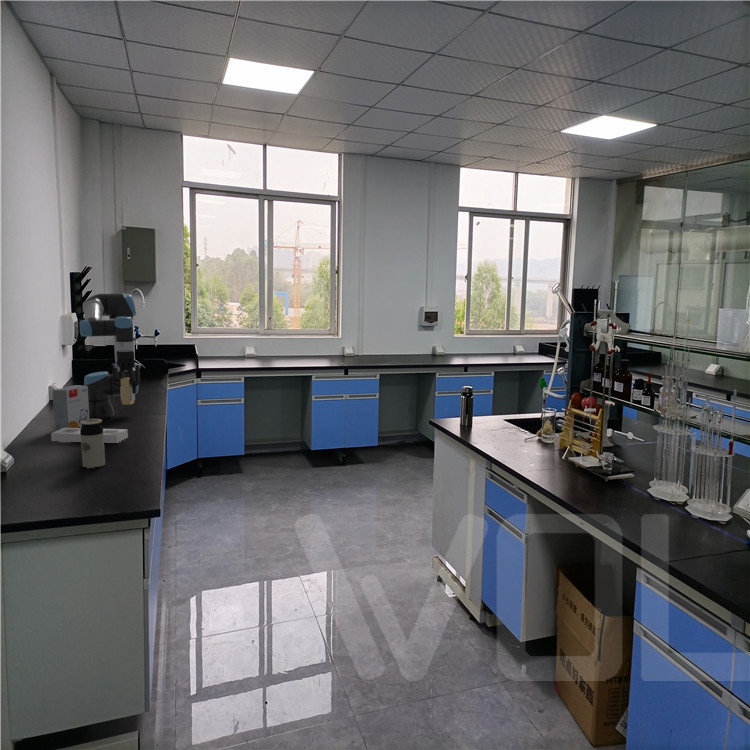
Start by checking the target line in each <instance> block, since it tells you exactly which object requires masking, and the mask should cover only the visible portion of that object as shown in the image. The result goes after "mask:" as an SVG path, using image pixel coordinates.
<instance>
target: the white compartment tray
mask: <svg viewBox="0 0 750 750" xmlns="http://www.w3.org/2000/svg"><path fill="white" fill-rule="evenodd" d="M81 428H82V427H80V428H62V429H60V430H57V431H55V430H54V431H53V432H51V433H50V437H51V442H52V441H59V442H58V443H71V442H81V435H80V430H81ZM103 435H104V443H118V444H120V443H122V442H123V441H125V440H127V439H128V438H129V430H128V429H125V428H124V429H123V428H121V429H120V428H103ZM126 438H127V439H126ZM124 439H125V440H124ZM122 440H123V441H122ZM121 441H122V442H121ZM119 442H120V443H119Z"/></svg>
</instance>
